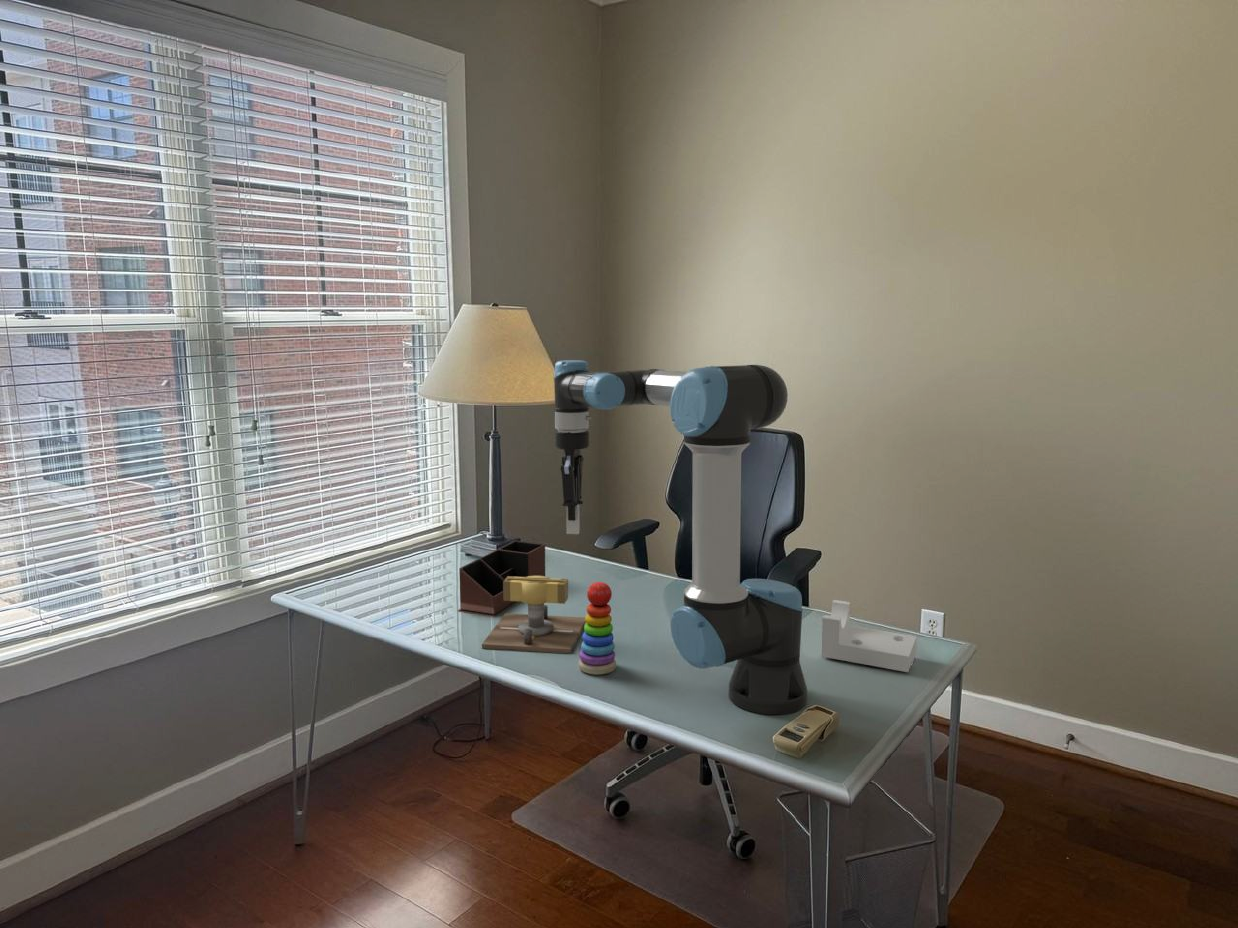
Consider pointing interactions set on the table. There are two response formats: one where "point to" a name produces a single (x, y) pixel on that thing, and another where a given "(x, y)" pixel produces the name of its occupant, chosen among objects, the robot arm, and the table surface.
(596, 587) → the stacking toy
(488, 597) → the desk organizer
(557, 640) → the base
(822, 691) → the table surface
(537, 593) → the yellow block with ball
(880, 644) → the white mounting bracket
